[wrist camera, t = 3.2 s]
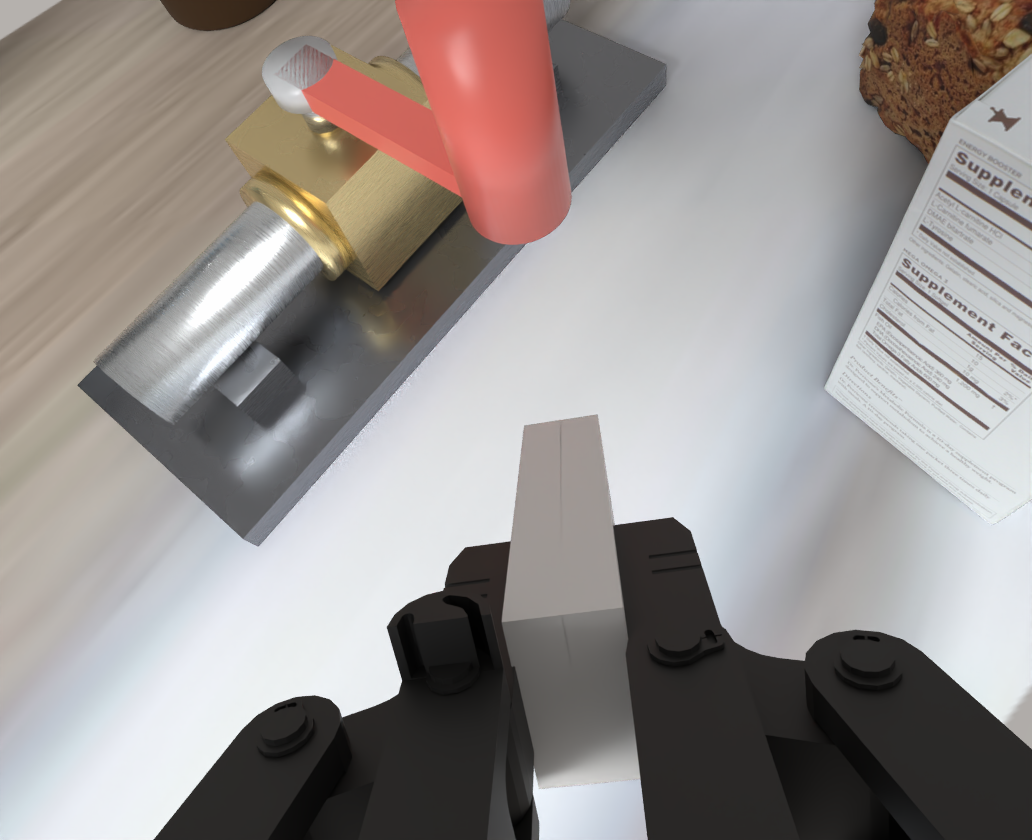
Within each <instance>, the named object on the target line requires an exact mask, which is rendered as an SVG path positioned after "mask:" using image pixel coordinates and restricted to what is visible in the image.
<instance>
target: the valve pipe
mask: <svg viewBox="0 0 1032 840" xmlns="http://www.w3.org/2000/svg"><path fill="white" fill-rule="evenodd" d="M543 4H544V11H545V18H546V24H547V31H548V38H549V45H550V51H551V58H552V65H553V72H554V78H555V85H556V92H557V99H558V105H559V112H560V119H561V126H562V132H563V139H564V146H565V153H566V159H567V166H568V173H569V180H570V186H571V192H572V191H573V190H574V189H575V187H576V186H577V185H578V184H579V183H580V182H581V181H582V180H583V178H584V177H585V176H586V175H587V174H588V173H589V172H590V171H591V169H592V168H593V167H594V166H595V165H596V164H597V163H598V161H599V160H600V159H601V158H602V157H603V156H604V155H605V154H606V152H607V151H608V150H609V149H610V148H611V147H612V146H613V145H614V143H615V142H616V141H617V140H618V139H619V138H620V137H621V135H622V134H623V133H624V132H625V131H626V130H627V129H628V128H629V126H630V125H631V124H632V123H633V122H634V121H635V120H636V118H637V117H638V116H639V115H640V114H641V113H642V112H643V111H644V109H645V108H646V107H647V106H648V105H649V104H650V103H651V102H652V100H653V99H654V98H655V97H656V96H657V95H658V94H659V92H660V91H661V90H662V89H663V88H664V87H665V86H666V64H664V63H662V62H660V61H657V60H655V59H653V58H650V57H648V56H646V55H644V54H641V53H639V52H637V51H634V50H632V49H630V48H627V47H625V46H623V45H620V44H618V43H616V42H613V41H611V40H609V39H606V38H604V37H602V36H599V35H597V34H595V33H592V32H590V31H588V30H585V29H583V28H581V27H578V26H576V25H574V24H571V23H569V22H567V21H564V20H562V18H563V17H564V16H565V15H566V14H567V12H568V10H569V7H570V0H543ZM331 47H332V49H333V51H334V53H335V55H336V57H337V60H338V61H339V62H341V63H343V64H345V65H347V66H349V67H350V68H352V69H354V70H356V71H358V72H360V73H362V74H364V75H366V76H367V77H369V78H371V79H373V80H375V81H377V82H379V83H381V84H383V85H385V86H386V87H388V88H390V89H392V90H394V91H396V92H398V93H400V94H402V95H404V96H405V97H407V98H409V99H411V100H413V101H415V102H417V103H419V104H421V105H423V106H424V107H426V108H428V109H430V110H431V107H430V104H429V101H428V98H427V95H426V92H425V89H424V87H423V84H422V81H421V78H420V75H419V72H418V69H417V66H416V63H415V61H414V58H413V55H412V52H411V49H410V47H409V48H408V49H407V50H406V51H405V52H404V53H403V54H402V55H401V56H400V57H399V58H398V59H397V60H394V59H392V58H389V57H385V56H377V57H375V58H373V59H372V60H371V61H370V62H369V63H368V64H367V63H365V62H363V61H361V60H359V59H357V58H355V57H353V56H351V55H349V54H347V53H346V52H344V51H342V50H340V49H338V48H336V47H334V46H332V45H331ZM225 140H226V142H227V143H228V145H229V146H230V147H231V149H232V150H233V152H234V153H235V155H236V156H237V157H238V159H239V160H240V162H241V163H242V165H243V166H244V167H245V169H246V170H247V172H248V173H249V175H250V176H251V177H252V178H251V179H250V180H249V181H248V182H247V183H246V184H245V185H244V186H243V187H242V188H241V189H240V195H241V197H242V199H243V201H244V202H245V204H246V206H247V207H248V208H247V209H246V210H245V211H244V212H243V213H242V214H241V215H240V216H239V217H238V218H237V219H236V220H235V221H234V222H233V223H232V224H231V225H230V226H229V227H228V228H227V229H226V230H225V231H224V232H223V233H222V234H221V235H220V236H219V237H218V238H217V239H216V240H215V241H214V242H213V243H212V244H211V245H209V246H208V247H207V248H206V249H205V250H204V251H203V252H202V253H201V254H200V255H199V256H198V257H197V258H196V259H195V260H194V261H193V262H192V263H191V264H190V265H189V266H188V267H187V268H186V269H185V270H184V271H183V272H182V273H181V274H180V275H179V276H178V277H177V278H176V279H175V280H174V281H173V282H172V283H171V284H170V285H169V286H168V287H167V288H166V289H165V290H164V291H163V292H162V293H161V294H160V295H159V296H158V297H157V298H156V299H155V300H154V301H153V302H152V303H151V304H150V305H149V306H148V307H147V308H146V309H145V310H144V311H143V312H142V313H141V314H140V315H139V316H138V317H137V318H136V319H135V320H134V321H133V322H132V323H131V324H130V325H129V326H128V327H127V328H126V329H125V330H124V331H123V332H122V333H121V334H120V335H119V336H118V337H117V338H116V339H115V340H114V341H113V342H112V343H111V344H110V345H109V346H108V347H107V348H106V349H105V350H104V351H103V352H102V353H101V354H100V355H99V356H98V357H97V358H96V359H95V360H94V361H93V362H94V363H95V364H96V365H97V366H96V367H95V368H94V369H93V370H92V371H91V372H90V373H89V374H88V375H87V376H86V377H85V378H84V379H83V380H82V381H81V382H80V383H79V384H78V386H79V387H80V388H81V389H82V390H83V391H84V392H85V393H86V394H87V395H88V396H89V397H90V398H92V399H93V400H94V401H95V402H96V403H97V404H98V405H99V406H100V407H101V408H102V409H103V410H105V411H106V412H107V413H108V414H109V415H110V416H111V417H112V418H113V419H114V420H115V421H116V422H117V423H119V424H120V425H121V426H122V427H123V428H124V429H125V430H126V431H127V432H128V433H129V434H130V435H131V436H133V437H134V438H135V439H136V440H137V441H138V442H139V443H140V444H141V445H142V446H143V447H144V448H146V449H147V450H148V451H149V452H150V453H151V454H152V455H153V456H154V457H155V458H156V459H157V460H158V461H160V462H161V463H162V464H163V465H164V466H165V467H166V468H167V469H168V470H169V471H170V472H171V473H172V474H174V475H175V476H176V477H177V478H178V479H179V480H180V481H181V482H182V483H183V484H184V485H185V486H187V487H188V488H189V489H190V490H191V491H192V492H193V493H194V494H195V495H196V496H197V497H198V498H199V499H201V500H202V501H203V502H204V503H205V504H206V505H207V506H208V507H209V508H210V509H211V510H212V511H214V512H215V513H216V514H217V515H218V516H219V517H220V518H221V519H222V520H223V521H224V522H225V523H226V524H228V525H229V526H230V527H231V528H232V529H233V530H234V531H235V532H236V533H237V534H238V535H239V536H240V537H242V538H243V539H244V540H246V541H248V542H250V543H252V544H254V545H256V546H259V545H260V544H261V543H262V542H263V540H264V539H265V538H266V537H267V536H268V535H269V534H270V533H271V531H272V530H273V529H274V528H275V527H276V526H277V525H278V523H279V522H280V521H281V520H282V519H283V518H284V517H285V516H286V514H287V513H288V512H289V511H290V510H291V509H292V508H293V506H294V505H295V504H296V503H297V502H298V501H299V500H300V499H301V497H302V496H303V495H304V494H305V493H306V492H307V491H308V490H309V488H310V487H311V486H312V485H313V484H314V483H315V482H316V480H317V479H318V478H319V477H320V476H321V475H322V474H323V473H324V471H325V470H326V469H327V468H328V467H329V466H330V465H331V464H332V462H333V461H334V460H335V459H336V458H337V457H338V456H339V454H340V453H341V452H342V451H343V450H344V449H345V448H346V447H347V445H348V444H349V443H350V442H351V441H352V440H353V439H354V437H355V436H356V435H357V434H358V433H359V432H360V431H361V430H362V428H363V427H364V426H365V425H366V424H367V423H368V422H369V421H370V419H371V418H372V417H373V416H374V415H375V414H376V413H377V411H378V410H379V409H380V408H381V407H382V406H383V405H384V404H385V402H386V401H387V400H388V399H389V398H390V397H391V396H392V395H393V393H394V392H395V391H396V390H397V389H398V388H399V387H400V385H401V384H402V383H403V382H404V381H405V380H406V379H407V378H408V376H409V375H410V374H411V373H412V372H413V371H414V370H415V368H416V367H417V366H418V365H419V364H420V363H421V362H422V361H423V359H424V358H425V357H426V356H427V355H428V354H429V353H430V352H431V350H432V349H433V348H434V347H435V346H436V345H437V344H438V342H439V341H440V340H441V339H442V338H443V337H444V336H445V335H446V333H447V332H448V331H449V330H450V329H451V328H452V327H453V326H454V324H455V323H456V322H457V321H458V320H459V319H460V318H461V316H462V315H463V314H464V313H465V312H466V311H467V310H468V309H469V307H470V306H471V305H472V304H473V303H474V302H475V301H476V299H477V298H478V297H479V296H480V295H481V294H482V293H483V292H484V290H485V289H486V288H487V287H488V286H489V285H490V284H491V283H492V281H493V280H494V279H495V278H496V277H497V276H498V275H499V273H500V272H501V271H502V270H503V269H504V268H505V267H506V266H507V264H508V263H509V262H510V261H511V260H512V259H513V258H514V257H515V255H516V254H517V253H518V252H519V251H520V250H521V249H522V247H523V246H524V245H525V244H526V243H525V244H518V245H507V244H501V243H496V242H494V241H491V240H489V239H487V238H485V237H484V236H482V235H481V234H480V233H478V232H477V231H476V229H475V228H474V227H473V225H472V224H471V222H470V219H469V216H468V213H467V211H466V208H465V205H464V202H463V199H462V197H460V196H459V195H457V194H455V193H453V192H452V191H450V190H448V189H446V188H445V187H443V186H441V185H439V184H438V183H436V182H434V181H432V180H431V179H429V178H427V177H425V176H424V175H422V174H420V173H418V172H417V171H415V170H413V169H411V168H410V167H408V166H406V165H404V164H403V163H401V162H399V161H397V160H396V159H394V158H392V157H390V156H389V155H387V154H385V153H383V152H382V151H380V150H378V149H377V148H375V147H373V146H371V145H370V144H368V143H366V142H364V141H363V140H361V139H359V138H357V137H356V136H354V135H352V134H350V133H349V132H347V131H345V130H343V129H342V128H340V127H338V126H336V125H335V124H333V123H331V122H329V121H328V120H326V119H324V118H322V117H321V116H319V115H317V114H315V113H314V112H311V113H305V114H294V113H290V112H287V111H285V110H283V109H282V108H281V107H280V106H279V105H278V104H277V102H276V101H275V99H274V97H273V95H271V96H270V97H269V98H268V99H267V100H266V101H265V102H264V103H263V104H262V105H261V106H260V107H258V108H257V109H256V110H255V111H254V112H253V113H252V114H251V115H250V116H249V117H248V118H247V119H246V120H245V121H244V122H243V123H242V124H241V125H240V126H239V127H238V128H236V129H235V130H234V131H233V132H232V133H231V134H230V135H229V136H228V137H227V138H226V139H225Z"/></svg>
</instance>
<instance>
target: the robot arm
mask: <svg viewBox="0 0 1032 840" xmlns="http://www.w3.org/2000/svg"><path fill="white" fill-rule="evenodd" d="M387 629H388V633H389V636H390V640H391V643H392V647H393V650H394V654H395V657H396V661H397V664H398V668H399V671H400V674H401V678H402V683H401V687H400V691H399V694H398V695H396V696H395V697H393V698H391V699H390V700H388V701H385V702H383V703H381V704H379V705H376V706H374V707H371V708H368V709H365V710H362V711H360V712H357V713H354V714H351V715H348V716H345V717H343V718H342V716H341V713H340V710H339V708H338V707H337V706H336V705H335V704H334V703H333V702H332V701H331V700H330V699H326V698H323V697H319V696H315V695H314V696H303V697H295V698H292V699H289V700H286V701H283V702H280V703H277V704H275V705H273V706H272V707H270V708H268V709H267V710H265V711H263V712H262V713H260V714H258V715H257V716H256V717H255V718H254V719H253V720H252V721H251V722H250V723H249V724H247V725H246V726H245V727H244V728H243V729H242V730H241V732H240V733H239V734H238V735H237V737H236V738H235V739H234V740H233V742H232V743H231V744H230V745H229V747H228V748H227V749H226V750H225V752H224V753H223V754H222V755H221V756H220V758H219V759H218V760H217V761H216V763H215V764H214V765H213V766H212V768H211V769H210V770H209V771H208V773H207V774H206V775H205V776H204V778H203V779H202V780H201V781H200V783H199V784H198V785H197V786H196V788H195V789H194V790H193V791H192V793H191V794H190V795H189V796H188V798H187V799H186V800H185V801H184V803H183V804H182V805H181V806H180V808H179V809H178V810H177V811H176V813H175V814H174V815H173V816H172V817H171V819H170V820H169V821H168V822H167V824H166V825H165V826H164V827H163V829H162V830H161V831H160V832H159V834H158V835H157V836H156V837H155V839H154V840H539V820H538V815H537V810H536V806H535V801H534V797H533V772H534V768H535V773H536V777H537V782H538V786H539V789H545V788H556V787H566V786H576V785H587V784H597V783H607V782H618V781H628V780H639V779H641V787H642V795H643V804H644V812H645V820H646V829H647V837H648V840H1032V749H1031V748H1030V747H1029V746H1027V745H1026V744H1025V743H1024V742H1023V741H1022V740H1021V739H1020V738H1018V737H1017V736H1016V735H1015V734H1014V733H1013V732H1012V731H1011V730H1009V729H1008V728H1007V727H1006V726H1005V725H1004V724H1003V723H1002V722H1000V721H999V720H998V719H997V718H996V717H995V716H994V715H993V714H991V713H990V712H989V711H988V710H987V709H986V708H985V707H984V706H982V705H981V704H980V703H979V702H978V701H977V700H976V699H975V698H973V697H972V696H971V695H970V694H969V693H968V692H967V691H966V690H964V689H963V688H962V687H961V686H960V685H959V684H958V683H956V682H955V681H954V680H953V679H952V678H951V677H950V676H949V675H947V674H946V673H945V672H944V671H943V670H942V669H941V668H940V667H938V666H937V665H936V664H935V663H934V662H933V661H932V660H931V659H929V658H928V657H927V656H926V655H925V654H924V653H923V652H922V651H920V650H918V649H917V648H915V647H914V646H912V645H911V644H909V643H907V642H906V641H904V640H903V639H900V638H896V637H893V636H890V635H887V634H884V633H881V632H873V631H862V630H852V631H844V632H837V633H833V634H831V635H828V636H826V637H824V638H822V639H820V640H818V641H816V642H815V643H814V644H813V646H812V647H811V648H810V649H809V650H808V651H807V653H806V658H805V661H800V660H791V659H782V658H776V657H770V656H765V655H761V654H758V653H755V652H753V651H750V650H747V649H745V648H744V647H742V646H740V645H739V644H737V643H735V642H734V641H733V639H732V638H731V636H730V635H729V633H728V632H727V631H726V629H724V628H723V627H722V626H721V624H720V621H719V618H718V615H717V612H716V608H715V605H714V602H713V599H712V596H711V593H710V590H709V587H708V584H707V581H706V577H705V574H704V571H703V568H702V566H701V562H700V559H699V556H698V553H697V549H696V546H695V543H694V540H693V537H692V534H691V531H690V530H688V529H687V528H686V527H685V526H683V525H682V524H681V523H679V522H678V521H677V520H676V519H674V518H673V517H672V518H665V519H657V520H650V521H642V522H635V523H627V524H620V525H615V523H614V517H613V511H612V504H611V498H610V491H609V485H608V478H607V472H606V466H605V459H604V453H603V446H602V440H601V433H600V427H599V421H598V415H592V416H585V417H578V418H572V419H565V420H559V421H552V422H545V423H539V424H532V425H526V426H524V432H523V440H522V449H521V458H520V466H519V475H518V484H517V492H516V501H515V510H514V518H513V527H512V536H511V541H510V542H503V543H495V544H488V545H480V546H473V547H465V548H464V550H463V551H462V552H461V553H460V554H459V555H458V556H457V558H456V559H455V560H454V561H453V562H452V563H451V564H450V565H449V569H448V573H447V577H446V582H445V588H444V590H443V591H440V592H436V593H432V594H428V595H425V596H423V597H421V598H419V599H417V600H415V601H412V602H410V603H408V604H407V605H406V606H405V607H403V608H402V609H401V610H400V611H399V612H397V613H396V614H395V615H394V617H393V618H392V620H391V621H390V623H389V625H388V626H387Z"/></svg>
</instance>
